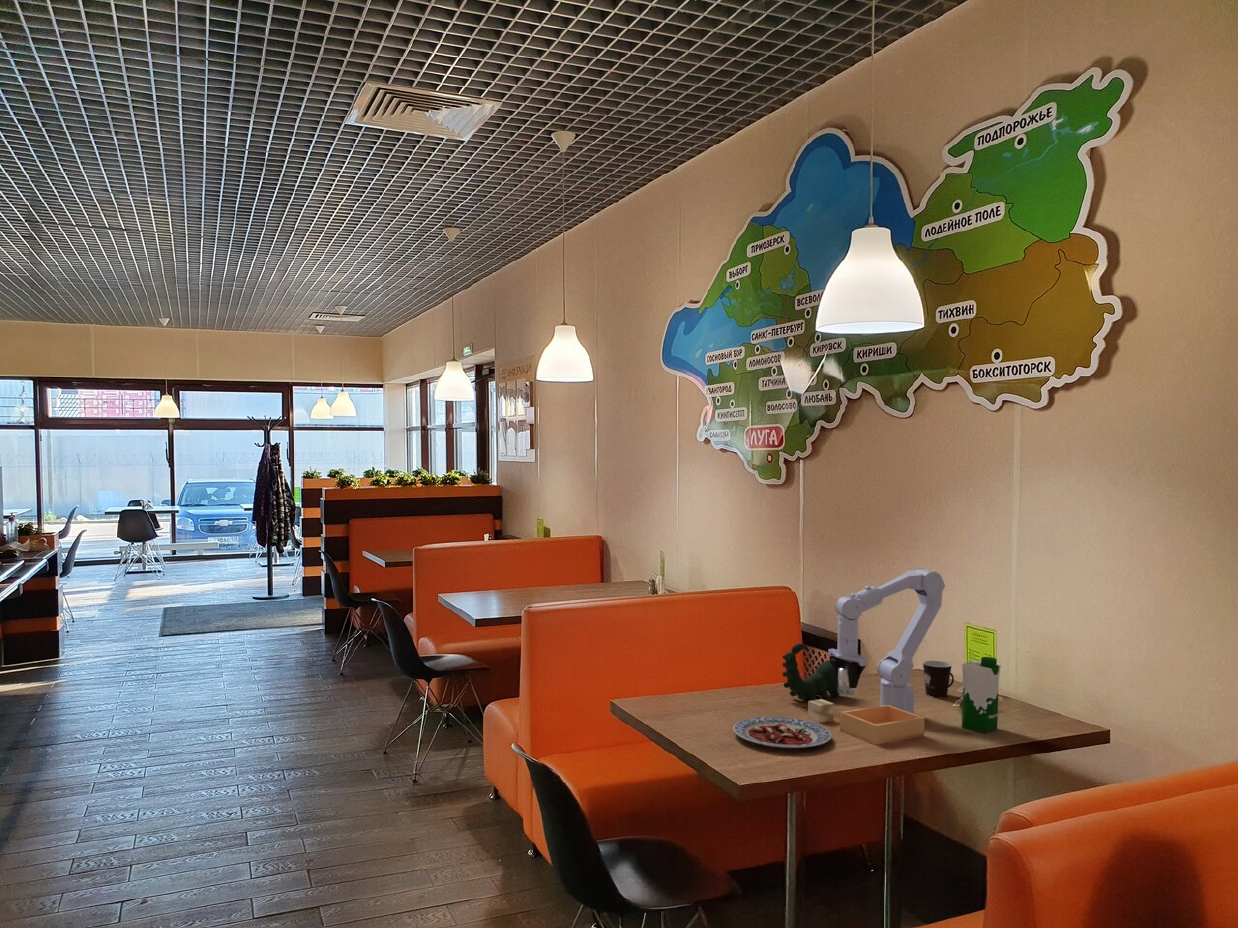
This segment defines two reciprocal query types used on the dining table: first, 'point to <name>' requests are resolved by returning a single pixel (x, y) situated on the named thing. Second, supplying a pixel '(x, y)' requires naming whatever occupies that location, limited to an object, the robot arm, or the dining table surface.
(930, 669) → the coffee mug
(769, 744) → the ceramic plate
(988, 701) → the milk carton
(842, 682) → the steel cylinder
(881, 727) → the light wood open box
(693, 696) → the dining table surface
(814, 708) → the beech cube
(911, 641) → the robot arm
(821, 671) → the toy figurine
